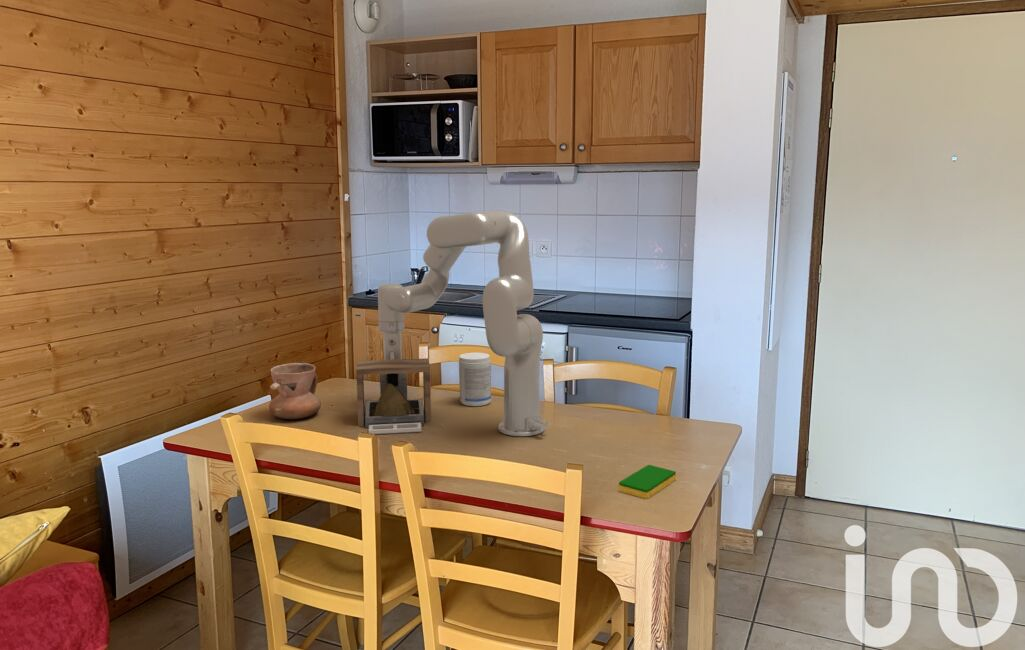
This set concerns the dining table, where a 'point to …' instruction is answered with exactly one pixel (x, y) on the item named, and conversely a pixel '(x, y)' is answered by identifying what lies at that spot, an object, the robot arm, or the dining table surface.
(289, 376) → the ceramic jug
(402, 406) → the rock
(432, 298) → the robot arm
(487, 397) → the supplement tub
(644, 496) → the dish sponge
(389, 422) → the slider
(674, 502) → the dining table surface
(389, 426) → the plate
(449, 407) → the dining table surface
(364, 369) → the tunnel
